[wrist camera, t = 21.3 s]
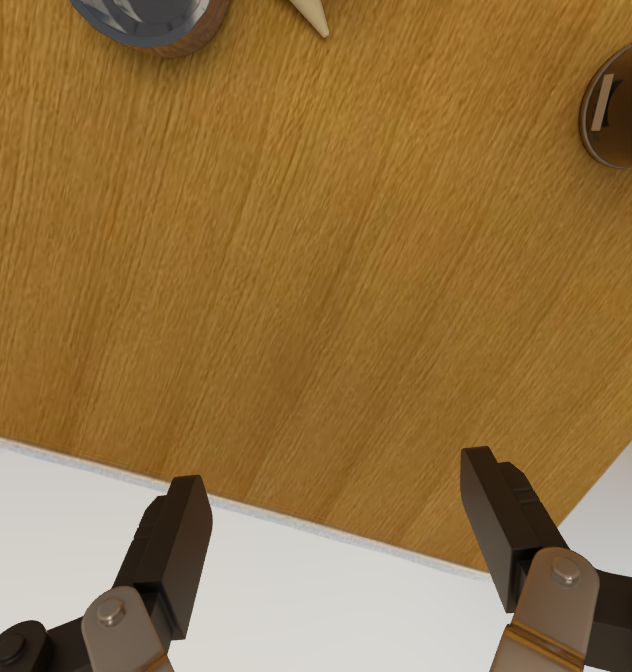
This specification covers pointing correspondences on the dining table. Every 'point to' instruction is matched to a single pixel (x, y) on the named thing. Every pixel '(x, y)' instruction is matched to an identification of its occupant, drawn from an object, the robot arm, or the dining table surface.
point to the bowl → (156, 23)
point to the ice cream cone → (313, 14)
